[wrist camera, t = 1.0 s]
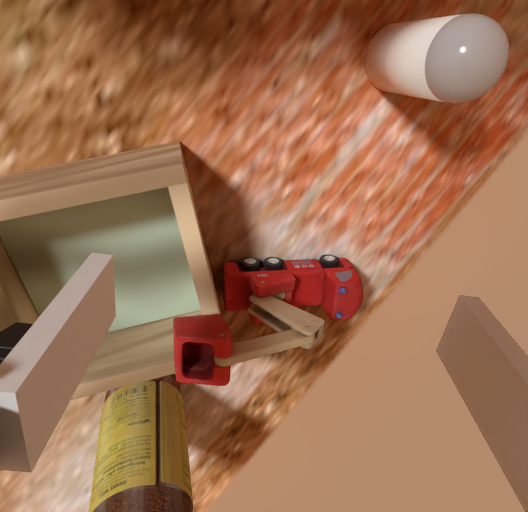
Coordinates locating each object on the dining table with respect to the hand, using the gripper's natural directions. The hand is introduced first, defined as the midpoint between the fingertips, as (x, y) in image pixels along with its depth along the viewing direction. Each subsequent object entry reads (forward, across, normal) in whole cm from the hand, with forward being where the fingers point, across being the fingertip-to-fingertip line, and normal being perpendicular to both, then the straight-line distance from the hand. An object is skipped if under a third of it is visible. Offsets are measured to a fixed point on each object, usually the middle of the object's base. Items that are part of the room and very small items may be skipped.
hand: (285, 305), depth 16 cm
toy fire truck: (+14, 0, -7) cm, 16 cm away
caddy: (+12, -11, -6) cm, 17 cm away
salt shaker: (+16, +6, +9) cm, 20 cm away
